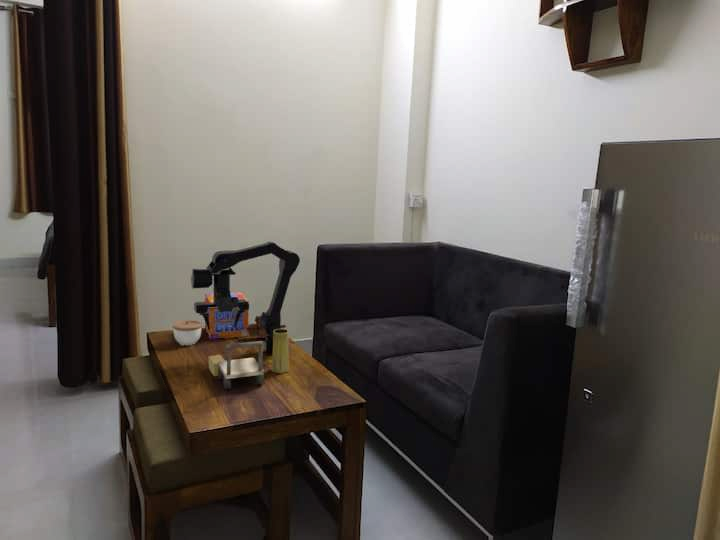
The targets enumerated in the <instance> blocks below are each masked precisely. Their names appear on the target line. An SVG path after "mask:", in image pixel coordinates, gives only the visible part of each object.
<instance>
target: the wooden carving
mask: <svg viewBox="0 0 720 540" xmlns="http://www.w3.org/2000/svg"><path fill="white" fill-rule="evenodd" d="M261 317H262V314H260V315H256V316H255V319H254V321H255V323H256V324H248V326H247V327H246V329H247V330H248V336H249V337H250V338H255V337H259V338H263V339H266V336H268V335H267V334H266V332H265V331H264V330H263V329H262V328H261V325H260V324H261V322H260V319H261ZM286 328H287V324H280V329H286Z"/></svg>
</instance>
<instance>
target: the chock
mask: <svg viewBox="0 0 720 540" xmlns="http://www.w3.org/2000/svg"><path fill="white" fill-rule="evenodd" d="M218 361H226V360H225V359H224V357H223V356H222V355H221V354H217V355H209V356H208V370H209V371H210V372H211V375H213V377H218V367H219V366H218Z"/></svg>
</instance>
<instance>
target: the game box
mask: <svg viewBox="0 0 720 540" xmlns="http://www.w3.org/2000/svg"><path fill="white" fill-rule="evenodd" d="M230 295H231V297H238V299H245V300H246V301H247V302H248V303H249V304H250V302H249V300H248V299H247V298H246V297H245V295H244V294H243V293H242V292H230ZM213 299H214V293H205V294H204V302H206V303H207V304H214V302H213ZM249 311H250V309H249V310H246V311H245V312H243V313H242V314H241V315H240V317H239V319H238V322H237V325H236V328H234V325H233V321H234V308H233V311H231V312H229V311H227V312H219V310H218V309H208V311H207V312H208V313H209V325H210V330H208V328H207V325H206V323H205V322H204V329H205V331H206V333H208V334H207V335H209V336H208V338H209V340H210V339H212V340H218V339H217V338H225V339H234V337H238V338H248V337H249V332H248V330H247V329H246V327H247V326H249Z"/></svg>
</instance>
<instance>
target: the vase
mask: <svg viewBox="0 0 720 540" xmlns="http://www.w3.org/2000/svg"><path fill="white" fill-rule="evenodd" d="M289 334H290V333H289V329H286V328H281V329H276V330H274V331H273V354H272V355H271V357H272V359H271V370H270V371H271V372H273V373H276V374H285V372H286V373H288V372H289V371H290V366H289V364H290V362H289V361H290V360H289V359H290V358H289V343H290V342H289Z"/></svg>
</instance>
